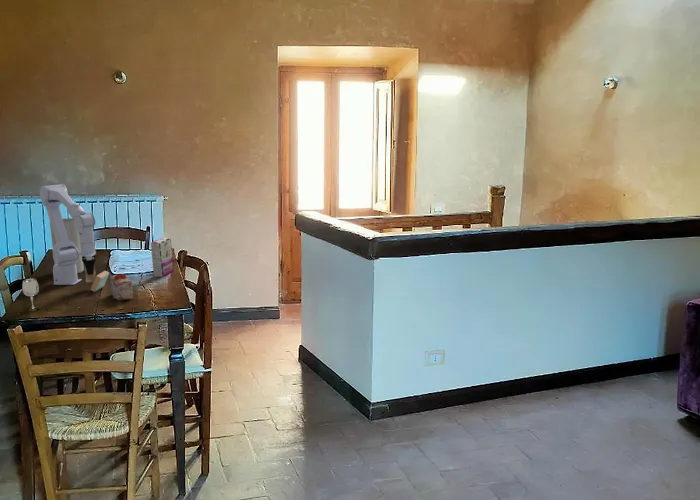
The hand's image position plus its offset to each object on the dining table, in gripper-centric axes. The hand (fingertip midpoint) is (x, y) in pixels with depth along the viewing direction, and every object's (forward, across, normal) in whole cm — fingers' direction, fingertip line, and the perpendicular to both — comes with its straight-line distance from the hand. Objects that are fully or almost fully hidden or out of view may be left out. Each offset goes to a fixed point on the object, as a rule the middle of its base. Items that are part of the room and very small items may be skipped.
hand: (90, 273), depth 285 cm
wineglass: (+7, +22, -22) cm, 32 cm away
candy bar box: (+7, -12, +32) cm, 35 cm away
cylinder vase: (+7, -37, -9) cm, 38 cm away
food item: (+7, +19, +11) cm, 23 cm away
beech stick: (+3, 0, 0) cm, 3 cm away
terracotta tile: (+7, +1, +2) cm, 7 cm away
